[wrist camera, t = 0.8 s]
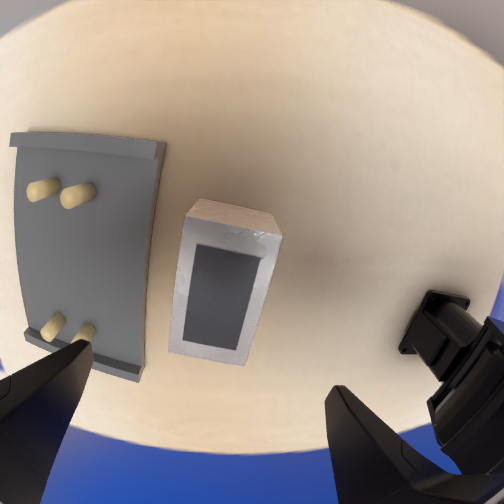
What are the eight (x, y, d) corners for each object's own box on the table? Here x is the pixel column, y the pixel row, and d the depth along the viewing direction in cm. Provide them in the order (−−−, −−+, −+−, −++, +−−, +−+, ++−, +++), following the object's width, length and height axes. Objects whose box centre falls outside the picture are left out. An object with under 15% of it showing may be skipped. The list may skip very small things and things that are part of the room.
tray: (166, 142, 15) (148, 141, 12) (144, 366, 21) (134, 395, 18) (27, 132, 14) (-3, 133, 11) (36, 329, 20) (18, 350, 17)
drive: (271, 212, 17) (283, 237, 13) (243, 319, 20) (244, 367, 15) (200, 197, 17) (184, 216, 12) (182, 307, 19) (167, 352, 15)
